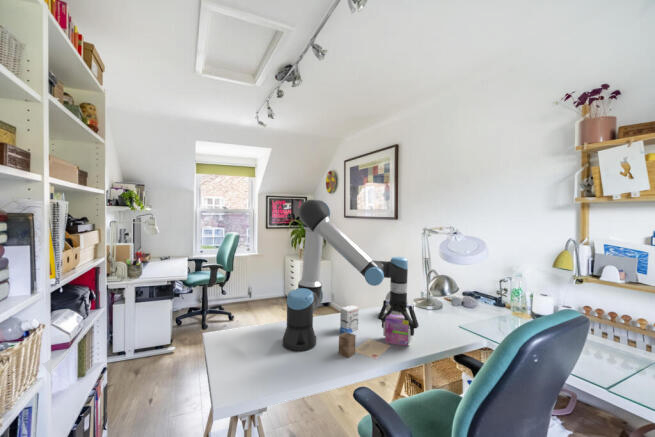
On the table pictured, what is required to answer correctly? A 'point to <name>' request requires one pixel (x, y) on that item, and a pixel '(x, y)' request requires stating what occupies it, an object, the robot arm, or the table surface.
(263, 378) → the table surface
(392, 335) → the box
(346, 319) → the ink box
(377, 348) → the letter
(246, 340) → the table surface
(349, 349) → the block
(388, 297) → the vase
